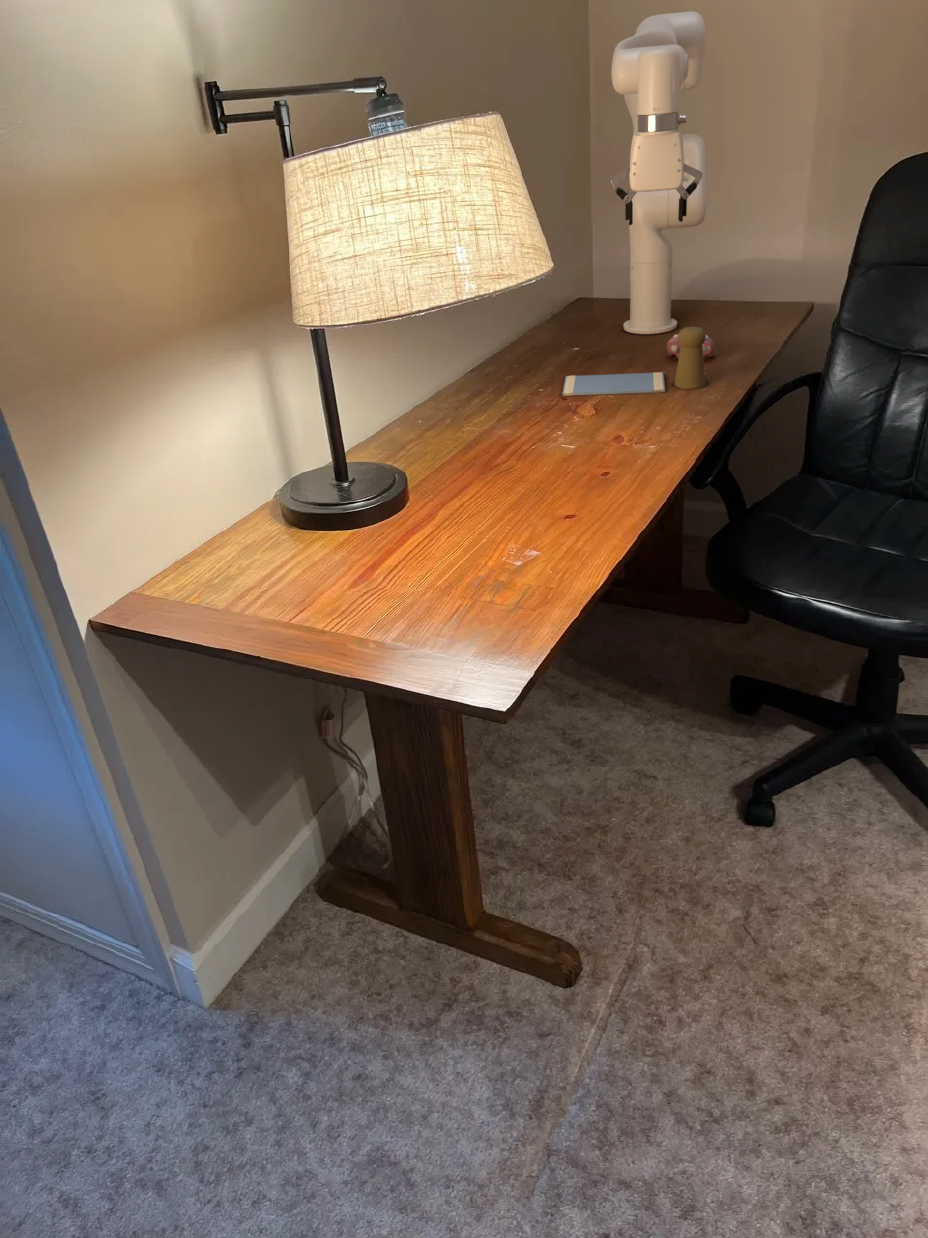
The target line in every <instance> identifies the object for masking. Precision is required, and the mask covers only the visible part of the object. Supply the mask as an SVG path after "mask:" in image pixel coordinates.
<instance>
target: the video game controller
mask: <svg viewBox="0 0 928 1238" xmlns="http://www.w3.org/2000/svg"><path fill="white" fill-rule="evenodd" d="M678 335H679V333H678V334H674V335H673V336H672V337H671V338H669V340H668V341H667V343H666V350H667V351H668V355H669V356H670V357H674V356H676V358H677V359H679V353H680V347H681V345H680V344H679V342H678ZM702 349H703V357H704V356H706V355H707V356H708V357H709V358H713V357H714V356H715V354H716V347H715V343H714V341H713V339H712V338H711V337H709V335H708V334H706V337H705V342H704V343H703V345H702Z"/></svg>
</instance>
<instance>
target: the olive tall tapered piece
mask: <svg viewBox="0 0 928 1238" xmlns="http://www.w3.org/2000/svg"><path fill="white" fill-rule="evenodd" d="M706 335H707V334H706V331H705V329H704V328H702V327H700V326H687V327H683V328H681V329H680V330H679V332H678V342H679V344H680V345H681V347H680V353H679V358H678V360H677V366H676V371H675V379H674V384H673V386H674V387H676V388H679V389H683V390H694V389H700V388H703V387H705V386H706V373H705V363H704V361H705V360H704V356H703V349H702V345H703V343H704V342H705V337H706Z"/></svg>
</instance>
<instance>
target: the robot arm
mask: <svg viewBox="0 0 928 1238" xmlns="http://www.w3.org/2000/svg"><path fill="white" fill-rule="evenodd" d="M705 23H706V22H705V21H704V18H703V16H702V15H701V14H700V13H699V12H697V11H692V10H691V11H680V12H671V13H661V14H653V15H650V16H648V17H646V18H645V19H644V20H642V21H641V22H640V23H639V24H638V26H637V28H636V30H635V33H634V35H633V36H629V37H627V38H625V39H623V40H621V41H620V42H618V44H616V46H615V47H614V50H613V54H612V60H611V67H610V68H611V71H610V72H611V73H610V75H611V77H610V78H611V83H612V87H613V89H614V91H615V92H616V93H618V94H619V95H623V97H624V101H625V104H626V107H627V109H628V112H629V115H630V117H631V121H632V128H633V135H632V138H631V145H630V152H629V153H630V156H629V167H627V168H626V169H624V170H622V171H621V172H620V173H618V174H616V175H615V176H613V177H612V178H611V179H610V183H611V185H612V188H613V189H614V192H615V194H616V195H617V196H618V197H619V198H620V199H621V200H622V201H623V202H624V203H625V207H624V208H625V211H624V212H625V214H624V215H625V216H624V217H625V221H628V229H629V230H628V231H629V246H630V247H629V248H630V249H629V251H630V255H629V256H630V257H629V259H630V260H629V269H630V270H629V320H626V321H624V323H623V330H624V331H625V332H627V333H630V334H636V335H656V334H664V333H667V332H672V331H674V330H675V329H676V328H677V327H678V321H677V320H676V319H675V318H672V314H671V313H672V288H673V287H672V284H673V283H672V282H673V281H672V280H673V247H672V245H671V242H670V241H669V240H668V238H667V237H666V236H665V235H664V234H663V233H662V231H663V230H667V229H681V228H683V229H684V228H693V227H698V226H699V225H701V224H702V223H703V222H704V220H705V218H706V214H707V209H708V208H707V207H708V186H707V185H708V184H707V182H708V181H707V174H708V173H707V171H708V169H707V148H706V145H705V144H706V143H705V141H704V139H703V137H701V136H700V135H698V134H695V133H684V134H683V133H682V130H681V129H679V127H680V126H681V125H682V124H686V123H687V115H686V114H684V115H683V114H680V113H679V103H680V102H679V101H680V91H687V90H688V91H689V90H692V89H694V88H696V87H697V86H698V85H699V83H700V82H701V79H702V76H703V71H704V64H705V63H704V61H705V56H706V55H705V54H706V47H707V29H706V24H705ZM628 177H629V178H628ZM627 178H628V179H629V186H630V188H629V189H628V191H627V192H626V191H625V190H624V189H623V188H622V186H621V184H620V183H621V182H622V181H624V180H625V179H627Z"/></svg>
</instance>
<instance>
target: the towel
mask: <svg viewBox="0 0 928 1238" xmlns="http://www.w3.org/2000/svg"><path fill="white" fill-rule="evenodd" d="M664 375H665V373H664V372H663V371H660V372H658V371H657V372H638V373H637V372H636V373H615V374H614V373H613V374H589V375H588V374H586V375H584V374H583V375H566V376H565V378H564V383H563V387H562V388H563V390H562V394H561V395H562V396H563V397H568V396H569V397H570V396H592V395H593V396H594V395H596V396H597V395H619V394H620V395H622V394H648V393H650V394H653V393H654V394H655V393H666V385H665V376H664Z"/></svg>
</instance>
